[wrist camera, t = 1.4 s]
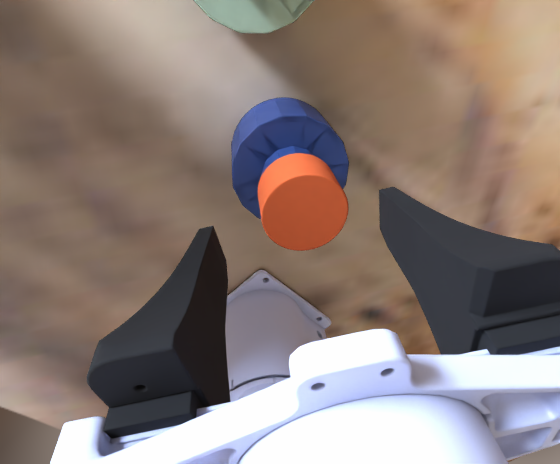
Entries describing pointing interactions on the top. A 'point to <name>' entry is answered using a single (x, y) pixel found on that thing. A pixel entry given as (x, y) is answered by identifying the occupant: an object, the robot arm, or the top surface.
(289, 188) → the bung
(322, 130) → the blue ribbed hub
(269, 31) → the green ribbed hub
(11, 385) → the top surface
